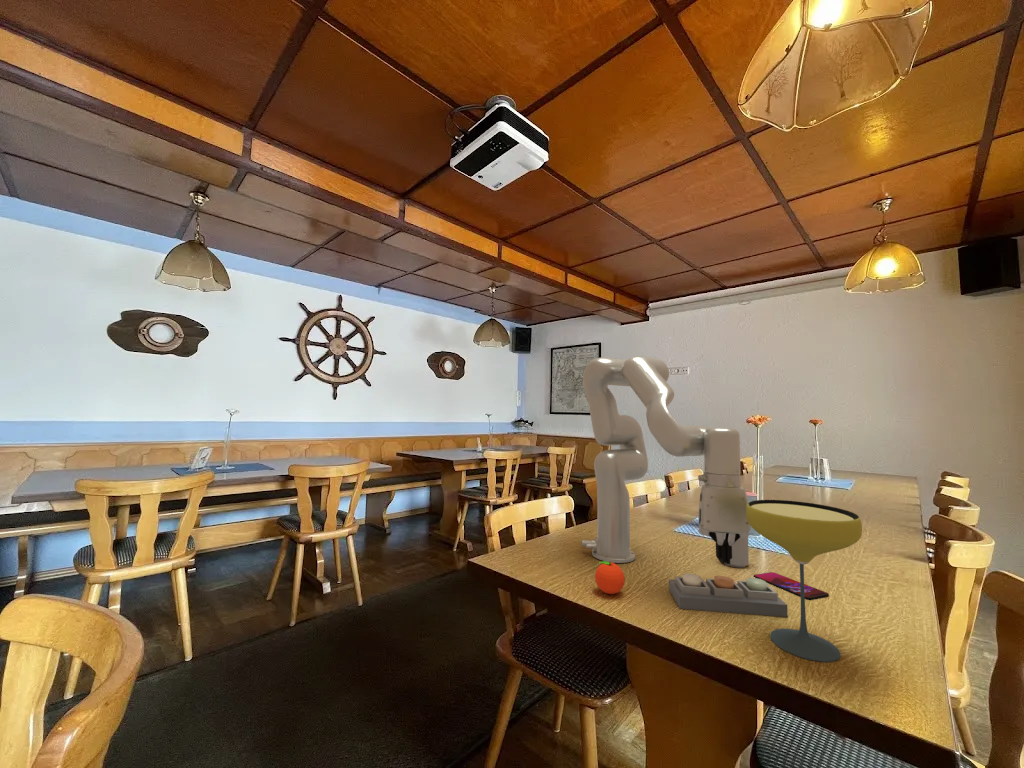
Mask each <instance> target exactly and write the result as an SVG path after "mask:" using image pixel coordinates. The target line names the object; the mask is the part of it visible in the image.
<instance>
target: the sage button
mask: <svg viewBox="0 0 1024 768" xmlns="http://www.w3.org/2000/svg"><path fill="white" fill-rule="evenodd" d="M746 581H747V588H748V589H750V590H752V591H766V592H767V585H768V583H767V582H766V581H764V580H761V579H757V578H754V577H747V578H746Z"/></svg>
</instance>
